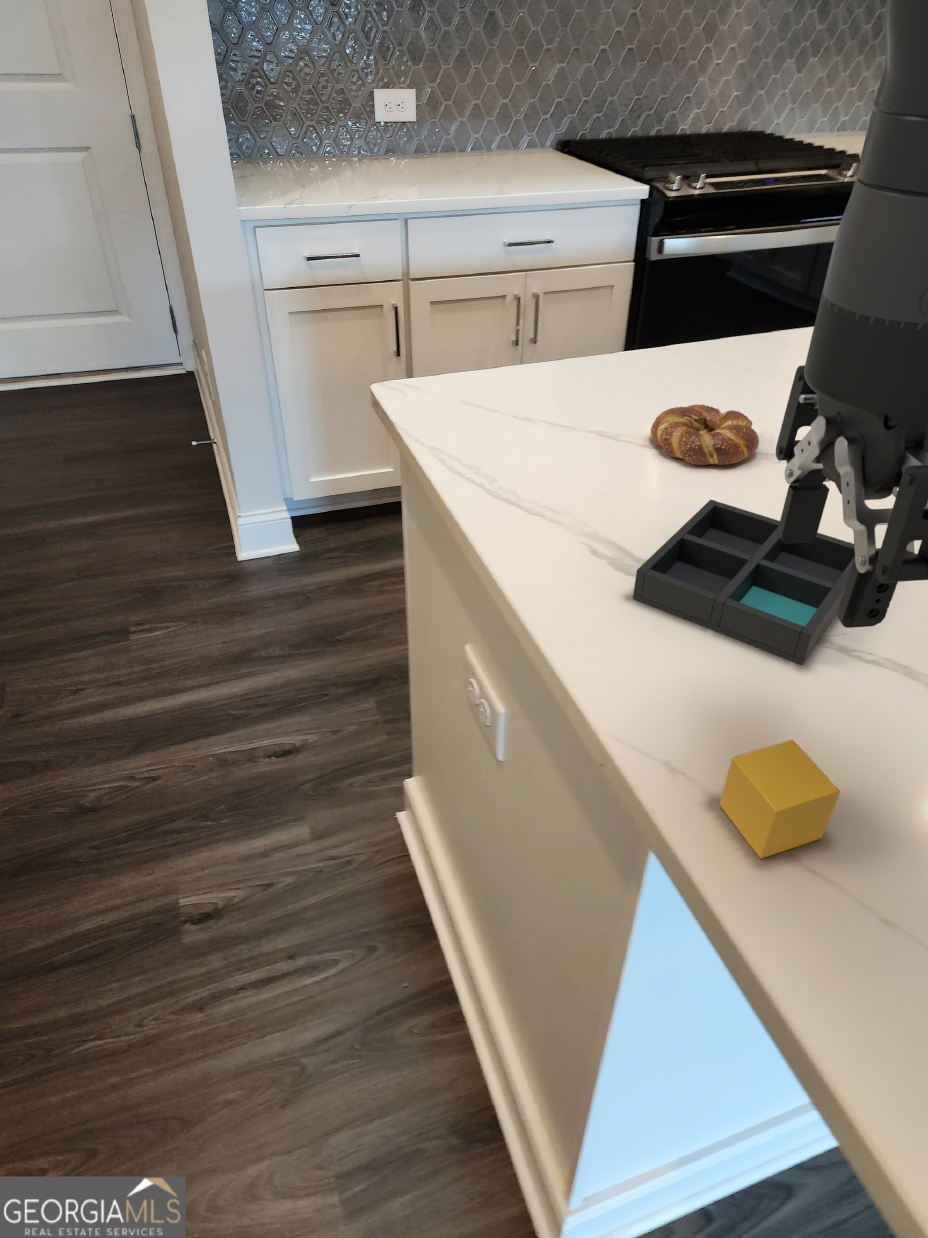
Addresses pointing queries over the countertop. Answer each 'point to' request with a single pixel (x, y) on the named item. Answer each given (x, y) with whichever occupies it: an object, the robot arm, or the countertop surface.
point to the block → (778, 798)
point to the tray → (748, 580)
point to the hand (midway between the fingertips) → (823, 578)
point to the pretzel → (705, 435)
